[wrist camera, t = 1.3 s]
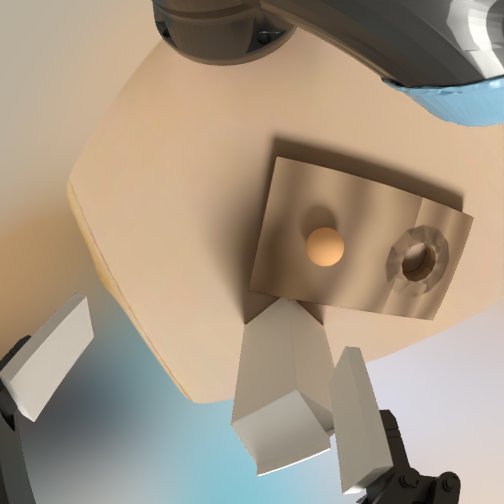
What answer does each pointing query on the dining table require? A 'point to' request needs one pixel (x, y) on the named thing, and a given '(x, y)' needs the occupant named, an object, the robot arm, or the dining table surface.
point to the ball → (324, 246)
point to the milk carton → (283, 387)
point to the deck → (356, 242)
